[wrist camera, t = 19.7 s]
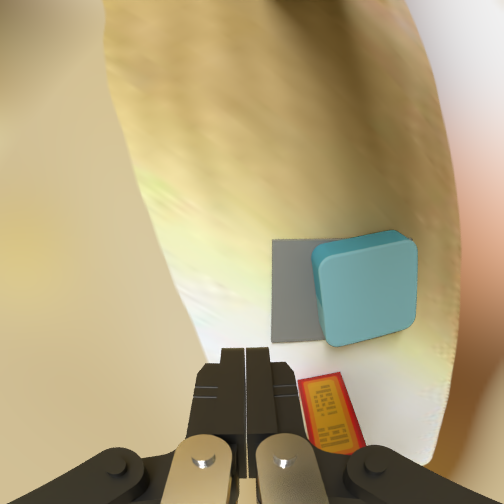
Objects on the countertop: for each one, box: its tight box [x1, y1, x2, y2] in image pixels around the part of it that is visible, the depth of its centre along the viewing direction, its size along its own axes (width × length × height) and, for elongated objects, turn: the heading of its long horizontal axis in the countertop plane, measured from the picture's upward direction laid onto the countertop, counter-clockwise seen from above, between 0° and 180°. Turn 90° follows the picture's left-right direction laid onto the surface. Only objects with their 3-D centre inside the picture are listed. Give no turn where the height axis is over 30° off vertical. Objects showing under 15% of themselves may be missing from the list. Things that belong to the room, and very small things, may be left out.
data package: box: [311, 230, 418, 347], centre depth 36 cm, size 12×4×12 cm
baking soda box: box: [298, 372, 366, 455], centre depth 38 cm, size 10×6×16 cm
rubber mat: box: [271, 238, 413, 342], centre depth 39 cm, size 14×18×1 cm
